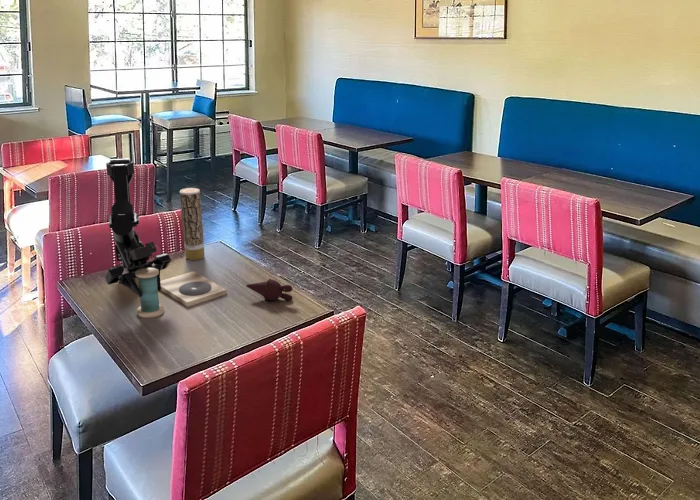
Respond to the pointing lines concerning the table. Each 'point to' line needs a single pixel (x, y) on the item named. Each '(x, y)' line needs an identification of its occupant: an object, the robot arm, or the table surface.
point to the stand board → (191, 288)
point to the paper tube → (192, 223)
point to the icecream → (271, 290)
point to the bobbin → (148, 293)
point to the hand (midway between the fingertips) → (150, 293)
